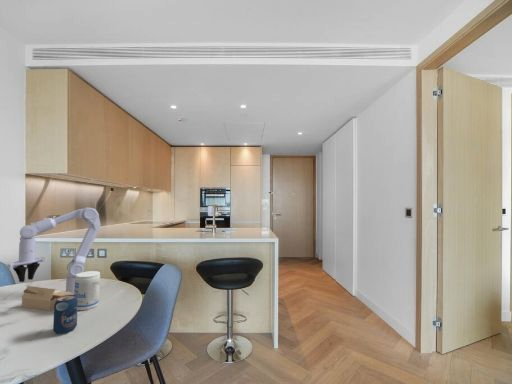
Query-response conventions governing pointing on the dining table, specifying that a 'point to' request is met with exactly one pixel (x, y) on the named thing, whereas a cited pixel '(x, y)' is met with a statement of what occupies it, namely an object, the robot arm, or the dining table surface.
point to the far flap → (38, 293)
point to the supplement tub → (87, 289)
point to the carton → (42, 303)
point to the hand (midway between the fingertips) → (26, 280)
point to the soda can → (65, 314)
